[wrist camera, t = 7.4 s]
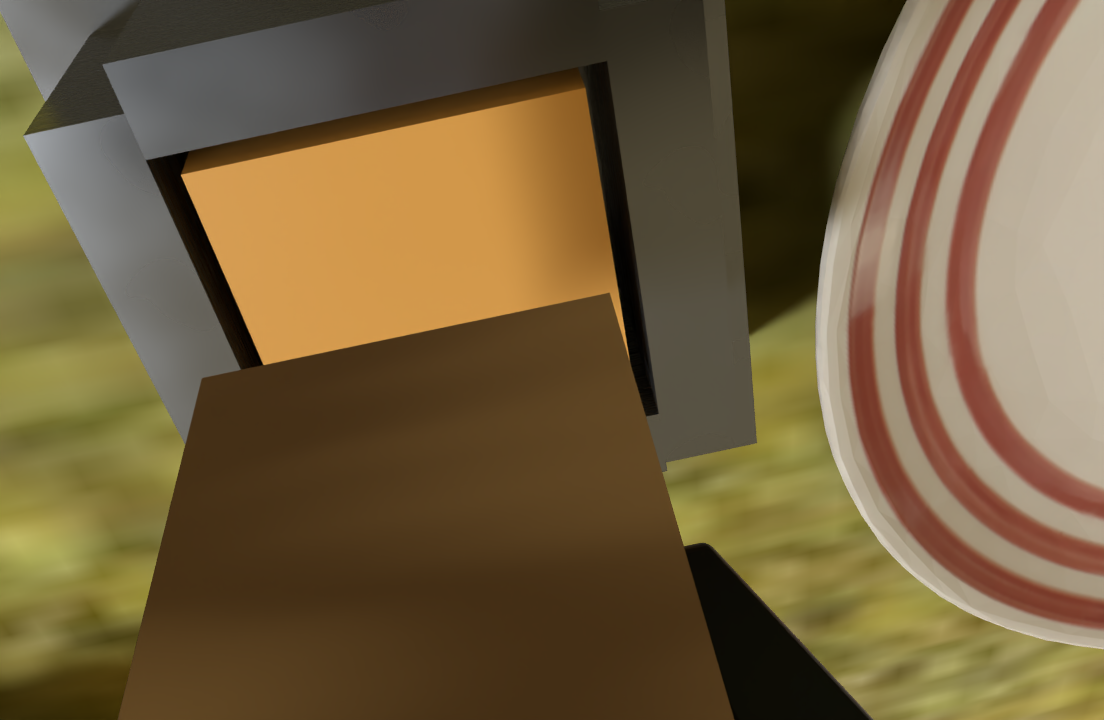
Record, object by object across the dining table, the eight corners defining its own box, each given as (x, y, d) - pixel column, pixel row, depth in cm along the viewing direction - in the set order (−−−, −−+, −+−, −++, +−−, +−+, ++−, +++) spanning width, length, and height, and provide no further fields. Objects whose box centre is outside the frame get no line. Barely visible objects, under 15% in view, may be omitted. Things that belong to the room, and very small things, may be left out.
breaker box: (280, 447, 23) (249, 684, 18) (-42, -267, 15) (-260, -187, 10) (719, 354, 23) (808, 567, 18) (646, -418, 15) (773, -413, 10)
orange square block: (320, 351, 18) (309, 470, 16) (214, 80, 15) (180, 174, 13) (604, 291, 18) (636, 400, 16) (555, 6, 15) (586, 87, 13)
